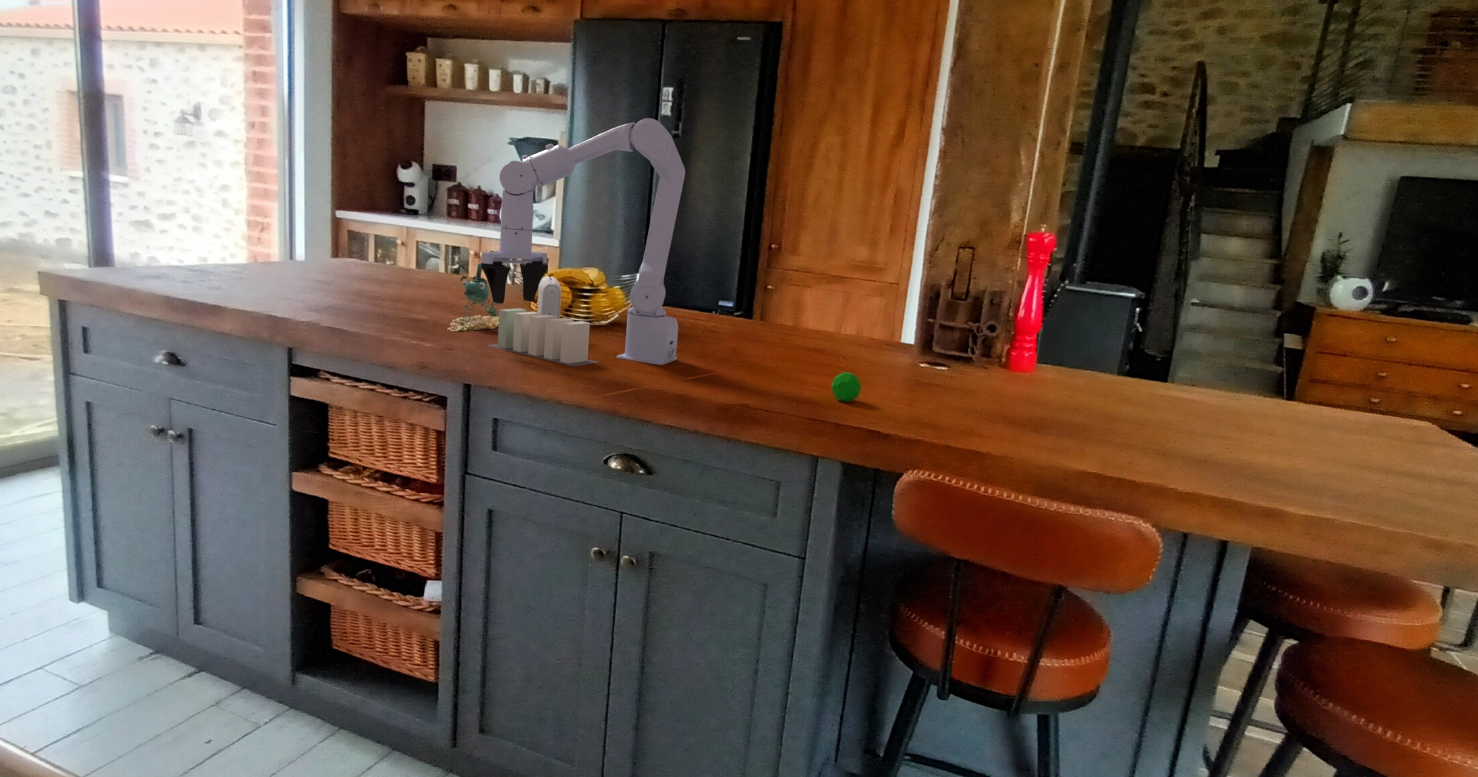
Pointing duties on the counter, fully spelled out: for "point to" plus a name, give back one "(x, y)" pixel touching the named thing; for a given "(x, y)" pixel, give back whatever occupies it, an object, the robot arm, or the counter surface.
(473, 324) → the teal and tan figure
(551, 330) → the domino
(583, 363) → the domino mat
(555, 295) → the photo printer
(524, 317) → the domino
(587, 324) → the domino
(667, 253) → the robot arm
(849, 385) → the polyhedron
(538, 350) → the domino
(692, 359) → the counter surface
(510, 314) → the pale green rectangular block
